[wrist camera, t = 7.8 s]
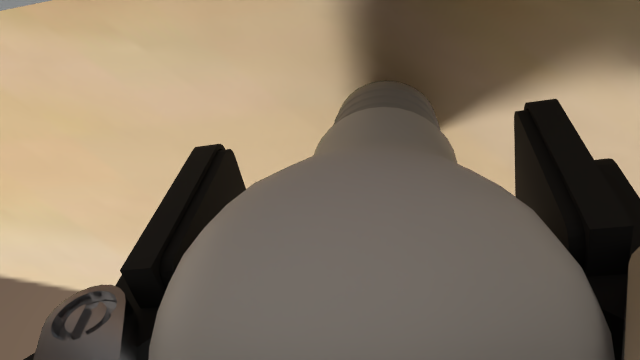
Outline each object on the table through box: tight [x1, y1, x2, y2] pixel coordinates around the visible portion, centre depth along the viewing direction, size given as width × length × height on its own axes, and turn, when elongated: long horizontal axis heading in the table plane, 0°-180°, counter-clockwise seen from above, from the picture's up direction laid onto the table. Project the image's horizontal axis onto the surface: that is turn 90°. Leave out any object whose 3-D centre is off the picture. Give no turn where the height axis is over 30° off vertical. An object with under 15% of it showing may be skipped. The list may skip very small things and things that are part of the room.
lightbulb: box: [149, 81, 615, 360], centre depth 10 cm, size 6×6×11 cm
